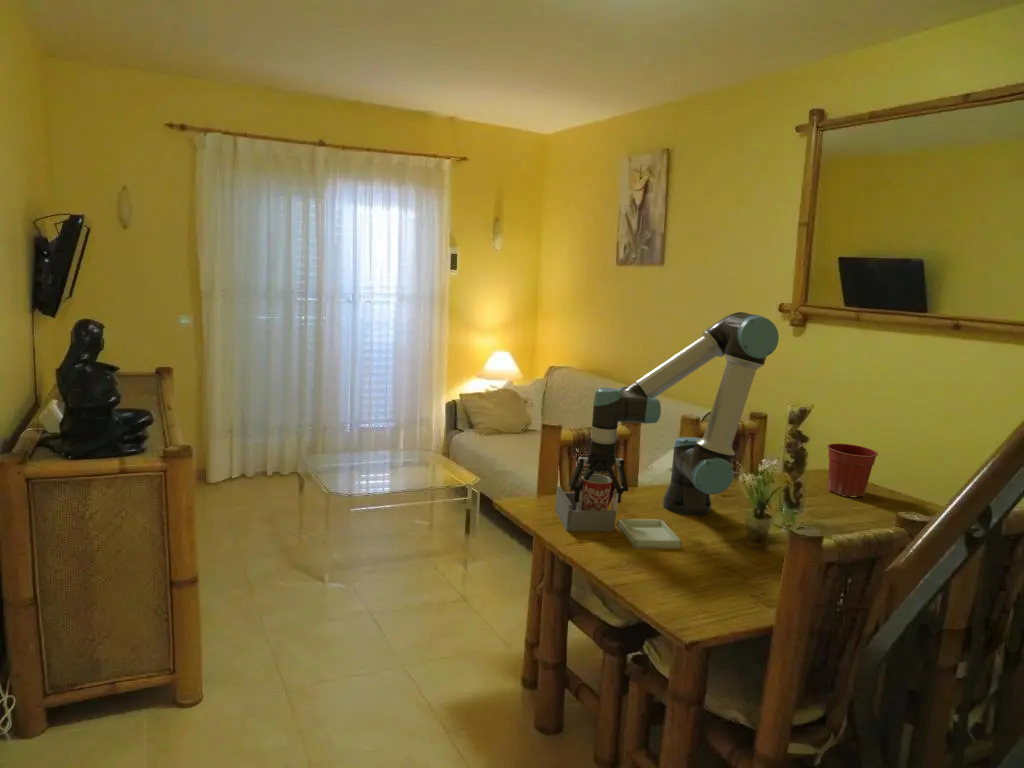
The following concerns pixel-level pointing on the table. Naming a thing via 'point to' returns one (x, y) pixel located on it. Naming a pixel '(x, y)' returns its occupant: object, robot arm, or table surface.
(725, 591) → the table surface
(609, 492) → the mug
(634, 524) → the tray
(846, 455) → the flower pot
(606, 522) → the bay
